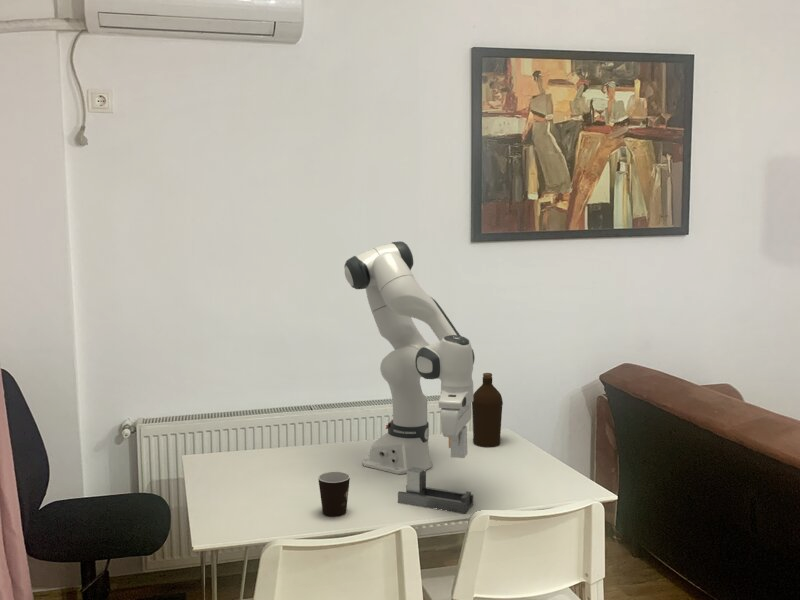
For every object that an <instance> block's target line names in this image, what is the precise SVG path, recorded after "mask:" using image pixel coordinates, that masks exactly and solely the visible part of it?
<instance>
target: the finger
mask: <svg viewBox="0 0 800 600" xmlns="http://www.w3.org/2000/svg"><path fill="white" fill-rule="evenodd" d="M458 437H459V446H458V447H457V448H454V447H452V440H451V437H448V449H450V458H456V459H457V458H458V459H465V458H466V457H467V455H468V427H467V425H465V426H464V428H463V429H462V430H461V431H460V432H459V435H458Z"/></svg>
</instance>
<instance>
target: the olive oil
mask: <svg viewBox="0 0 800 600" xmlns="http://www.w3.org/2000/svg"><path fill="white" fill-rule="evenodd" d="M503 405H504V402H503V397H502V394H501V393H500V391H499V390H498V389H497V388H496V387H495V386H494V384H493V374H492V373H491V372H484V373H482V384H481V385H480V386H479V387H478V388H477V389H476V390H475V391H474V392H473V402H472V403H471V412H472V433H473V434H472V436H473V437H472V441H473V442H472V443H473V444H474V445H475V446H478V447H480V448H481V447H482V448H494V447H495V448H496V447H498V446H500V445H501V433H502V432H501V431H502V413H503Z"/></svg>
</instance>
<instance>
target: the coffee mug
mask: <svg viewBox="0 0 800 600" xmlns="http://www.w3.org/2000/svg"><path fill="white" fill-rule="evenodd" d="M317 477H318V478H317V479H318V487H319V495H320V501H321V502H320V503H321V509H322V514H323V516H326V517H329V518H337V517H338V518H339V517H342V516H344V515H346V513H347V507H348V498H349V488H350V480H351V475H350V474H349V473H347V472H342V471H327V472H323V473H321V474H319V475H318V476H317Z"/></svg>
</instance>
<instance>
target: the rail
mask: <svg viewBox="0 0 800 600" xmlns="http://www.w3.org/2000/svg"><path fill="white" fill-rule="evenodd" d="M405 487H406V489H405V491H398V492H397V503H398V504H402V503H403V504H404V505H408V504H409V506H415V505H416V506H415V507H421V506H422V508H427V507H429V508H428V509H433V508H437V509H436V510H439V509H442V510H441V511H445V510H447V511H446V512H451V511H452V513H459V514H464V515H465V514H467V513H468V512H469V510H470V509H471V508H472V507H473V506H474V494H473V493H472V491H466V492H460V491H453V490H445V489H440V488H433V487H428V486H427V471H426V470H425V469H423V468H416V467H411V468H410V469H409V470H408V471H407V473H406V485H405Z"/></svg>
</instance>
